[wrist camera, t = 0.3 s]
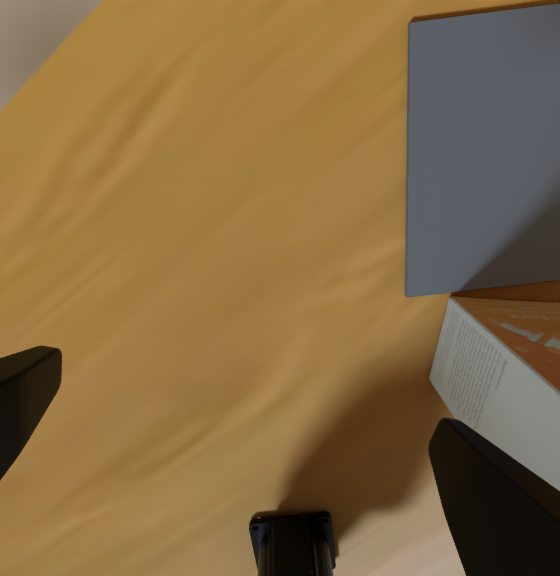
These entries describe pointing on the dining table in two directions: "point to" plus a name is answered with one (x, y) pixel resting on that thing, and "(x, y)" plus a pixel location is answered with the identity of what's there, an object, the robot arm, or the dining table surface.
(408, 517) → the dining table surface
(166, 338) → the dining table surface
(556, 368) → the small box
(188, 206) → the dining table surface
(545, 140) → the mat
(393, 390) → the dining table surface
